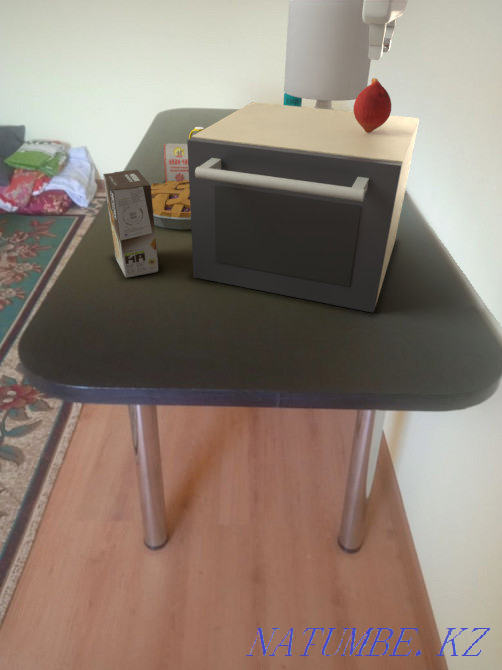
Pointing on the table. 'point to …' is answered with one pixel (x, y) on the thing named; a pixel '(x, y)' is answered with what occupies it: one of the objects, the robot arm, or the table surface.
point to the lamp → (326, 51)
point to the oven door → (291, 220)
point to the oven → (323, 140)
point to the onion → (372, 106)
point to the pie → (171, 205)
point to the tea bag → (176, 162)
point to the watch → (195, 130)
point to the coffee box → (132, 222)
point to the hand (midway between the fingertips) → (379, 55)
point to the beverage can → (292, 100)
